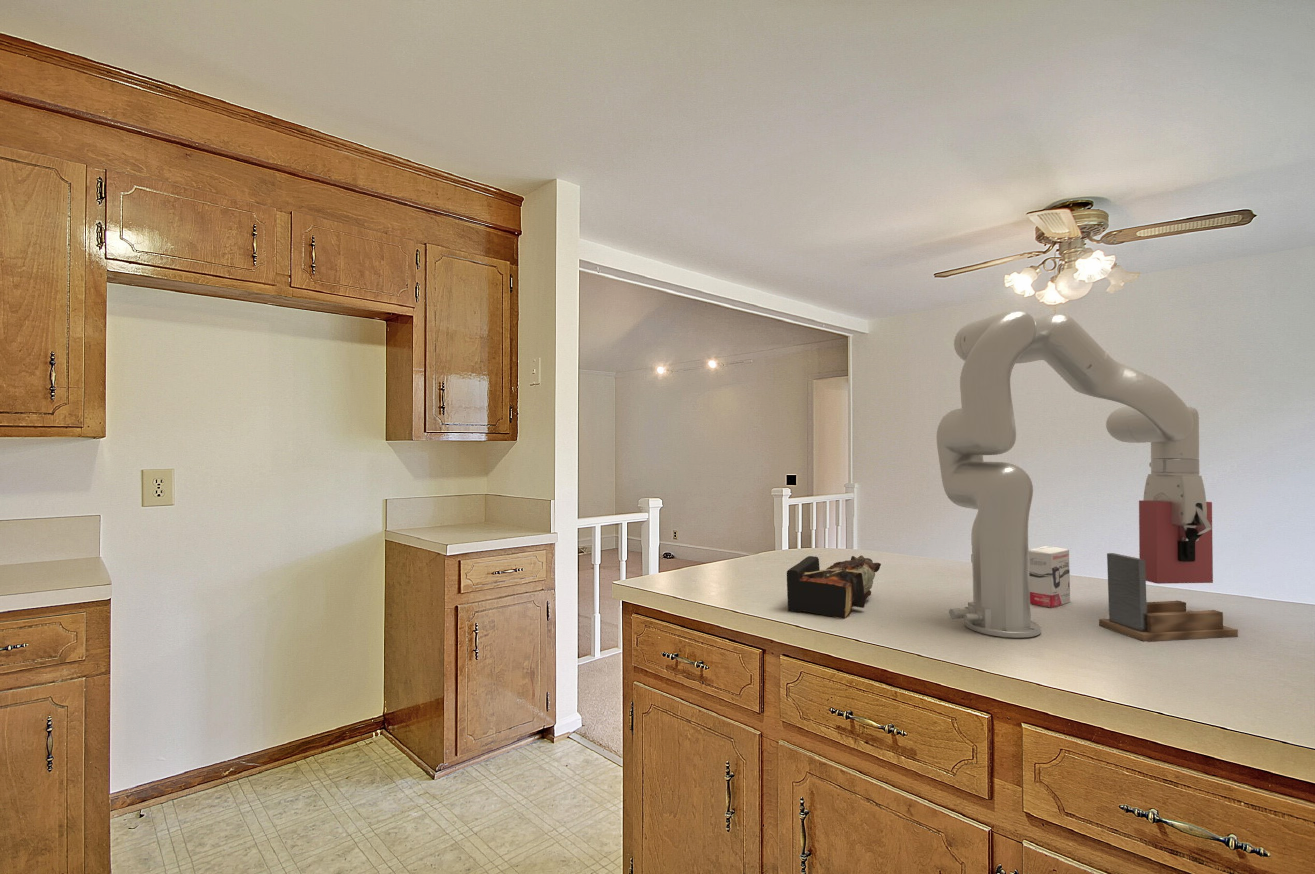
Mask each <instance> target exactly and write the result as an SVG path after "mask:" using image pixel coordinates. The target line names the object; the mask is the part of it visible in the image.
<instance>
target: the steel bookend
mask: <svg viewBox="0 0 1315 874" xmlns="http://www.w3.org/2000/svg"><path fill="white" fill-rule="evenodd" d="M1106 560H1107V561H1106V563H1107V564H1106V565H1107V591H1108V619H1109V621H1110V622H1113V623H1116V624H1119V625H1122V626H1125V627H1128V628H1131V629H1134V630H1137V631H1140V632H1147V602H1148V601H1147V581H1146V572H1145V560H1144V559H1140V558H1139V557H1136V556H1130V555H1129V556H1128V555H1124V554H1119V553H1114V552H1107V553H1106Z"/></svg>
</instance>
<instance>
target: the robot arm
mask: <svg viewBox="0 0 1315 874" xmlns="http://www.w3.org/2000/svg"><path fill="white" fill-rule="evenodd" d="M953 346H954V347H953V348H954V350H955V353H956V355H957V356H958V358H960V359H961V360H962V361H964V363H963V366H962V368H961V372H960V377H959V378H960V379H959V390H960V402H961V408H957V409H956V408H955V409H953V410H950V411H949V412H946V414H945V415H944V416H943V417H941V419H940V422H939V424H938V426H937V428H936V429H937V431H936V447H937V453H938V462H939V470H940V475H941V482H942V486H943V487H942V488H943V490H944V492H945V493H944V494H945V495H946V496H947V498H948V499H949V500H950V501H951V503H952V504H955V505H956V506H959V507H961V508H966V509H972V510H977V513H976V515H975V519H974V520H973V524H972V528H971V535H970V536H971V539H970V540H971V564H972V566H971V567H972V569H971V570H972V593H973V594H972V596H973V597H972V598H973V599H972V601H968V602H967V606H965V607H964V608H949V610H948V616H949V618H950V619H951V620H959V619H960V620H961V619H963V620H964V624H965V626H966V627H967V628H968V629H969V630H972V631H974V632H976V633H977V632H978V633H980V634H984V635H989V636H994V637H1000V638H1011V639H1021V638H1023V639H1024V638H1033V637H1037V636H1038V635H1040V634H1041V633H1042V632H1041V631H1042V628H1041V627H1042V626H1041V625H1040V624H1039V623H1038V622H1036V621H1034V620H1031V616H1032V614H1031V613H1032V612H1031V604H1030V579H1029V550H1030V548H1029V518H1030V511H1031V507H1032V501H1033V496H1034V495H1033V494H1034V485H1033V481H1032V479H1031V477H1030V475H1029V474H1028V473H1027V471H1025V470H1024V469H1023V468H1022V467H1020V466H1019V465H1016V464H1013V463H1010V462H1003V461H984V456H997V455H1003V454H1005V453H1007V452H1009V451H1010V450H1012V449H1013V447H1014V445H1015V444H1016V439H1017V428H1016V421H1015V415H1014V413H1015V412H1014V406H1013V397H1012V391H1011V378H1012V377H1011V376H1012V371H1013V369H1014V366H1015V365H1016V364H1026V363H1032V362H1038V361H1045V363H1047V365H1048V366H1050V367H1051V368H1052V369H1053V370H1054V371H1055V372H1056V374H1058V375H1059V376H1060V377H1061V378H1062V379H1063V381H1065V383H1066V384H1068V386H1070V387H1071V389H1073V391H1075V392H1077V393H1079V394H1082V395H1087V396H1089V397H1093V398H1098V399H1101V400H1102V399H1104V400H1107V401H1112V402H1115V403H1120V404H1122V405H1125V406H1123V407H1122V406H1121V407H1119V408H1117V409H1115V410H1114V411H1112V412H1111V413H1110V414H1109V415H1108V416H1107V419H1106V422H1105V427H1106V431H1107V432H1108V434H1109V436H1111V437H1112V438H1114V440H1117V441H1120V442H1122V443H1130V444H1135V443H1137V444H1139V443H1140V444H1145V443H1150V462H1149V464H1148V466H1149V468H1150V473H1148V474H1147V476H1146V480H1145V484H1144V490H1143V498H1142V499H1143V500H1154V501H1165V502H1171V523H1172V524H1173V525H1177V526H1178V528H1179V533H1180V538H1181V541H1178V560H1179V561H1181V562H1194V561H1195V541H1198V540H1199V537H1200V536H1201V535H1202V534H1203V533H1205V532H1207V531H1209V530H1211V528H1212V529H1213V526H1212V527H1211V525H1210V523H1209V521H1208V520H1207V505H1206V502H1207V498H1206V496H1207V495H1206V490H1205V484H1204V480H1203V477H1202V475H1200V423H1199V422H1200V417H1199V415H1200V413H1199V411H1198V410H1197V408H1195V407H1192V406H1188V405H1187V404H1186V403H1185V402H1184V401H1183V400H1182V399H1181V397H1179V395H1178V394H1177V393H1175V391H1173V389H1171V388H1170V387H1169V386H1168V385H1167V384H1165V383H1164V382H1162V381H1161V380H1159V379H1157V378H1155V377H1153V376H1151V375H1148V374H1147V373H1144V372H1142V371H1140V370H1137V369H1135V368H1133V367H1130V366H1129V365H1126V364H1123V363H1120V362H1118V361H1117V360H1115V359H1114V358H1113V357H1112V356H1111V355H1110V354H1109V353H1108V352H1107V351H1106V350H1104V348H1103V347H1102V346H1100V345H1099V343H1098V342H1097V341H1096V340H1095V339H1094V338H1093V337H1092V336H1091V335H1090V334H1089V333H1088V332H1087V331H1086V330H1085V329H1084V328H1083V327H1082V326H1081V325H1080V323H1078V322H1077V321H1076V320H1075V319H1074V318H1073V317H1071V316H1069V315H1067V314H1062V313H1055V314H1049V315H1043V316H1040V317H1037V318H1034V317H1033V315H1032V314H1031V313H1029V312H1026V311H1023V310H1010V311H1006V312H1001V313H998V314H995V315H992V316H988V317H985V318H982V319H979V320H975V321H972V322H969V323H967V324H966V325H963V326H962V327H961V328H960V329H959V330H958V331H957V333H956V334H955V336H954V340H953ZM1188 523H1189V525H1187V524H1188ZM1187 528H1189V532H1188V533H1187Z"/></svg>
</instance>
